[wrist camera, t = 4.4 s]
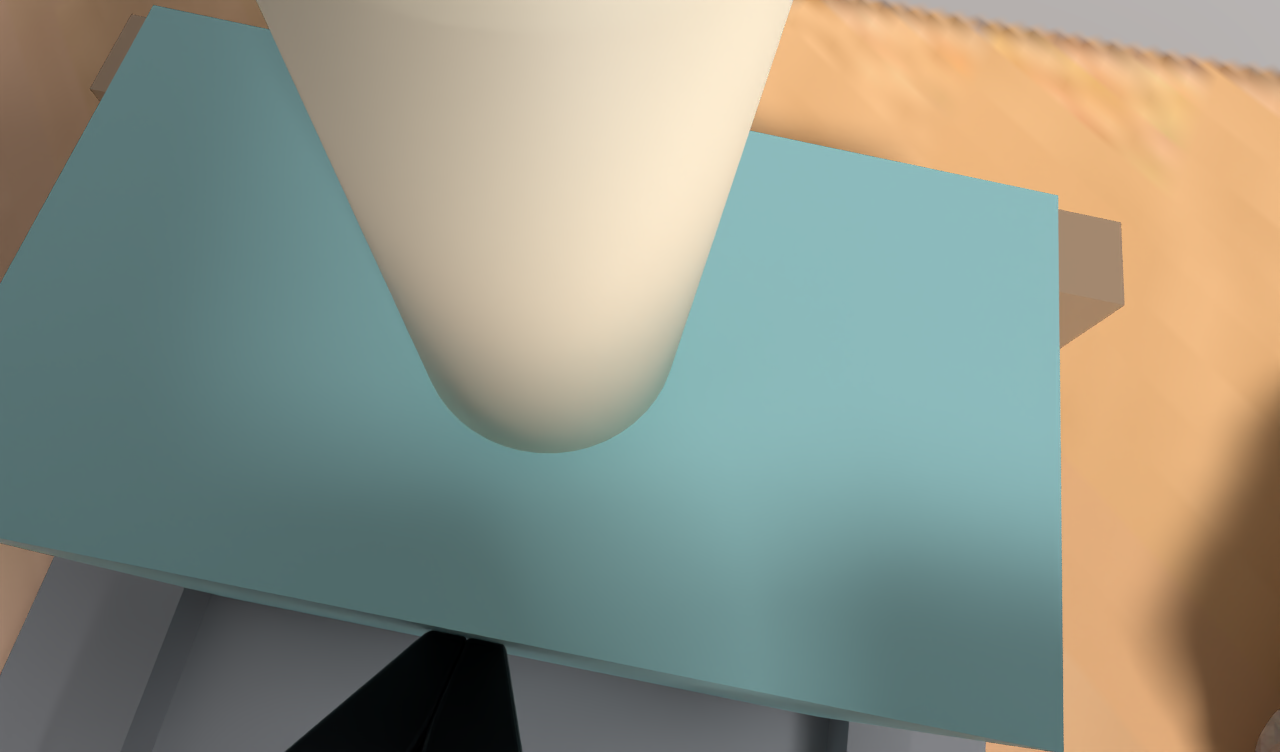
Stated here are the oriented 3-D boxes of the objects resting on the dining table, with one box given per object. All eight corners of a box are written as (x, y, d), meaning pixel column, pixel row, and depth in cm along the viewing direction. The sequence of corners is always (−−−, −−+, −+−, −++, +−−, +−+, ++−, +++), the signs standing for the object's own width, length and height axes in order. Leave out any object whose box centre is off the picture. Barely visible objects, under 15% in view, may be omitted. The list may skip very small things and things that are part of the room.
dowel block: (817, 716, 13) (2248, 933, 2) (221, 596, 13) (-1880, 91, 2) (847, 403, 15) (1628, -369, 4) (332, 296, 15) (-342, -802, 4)
